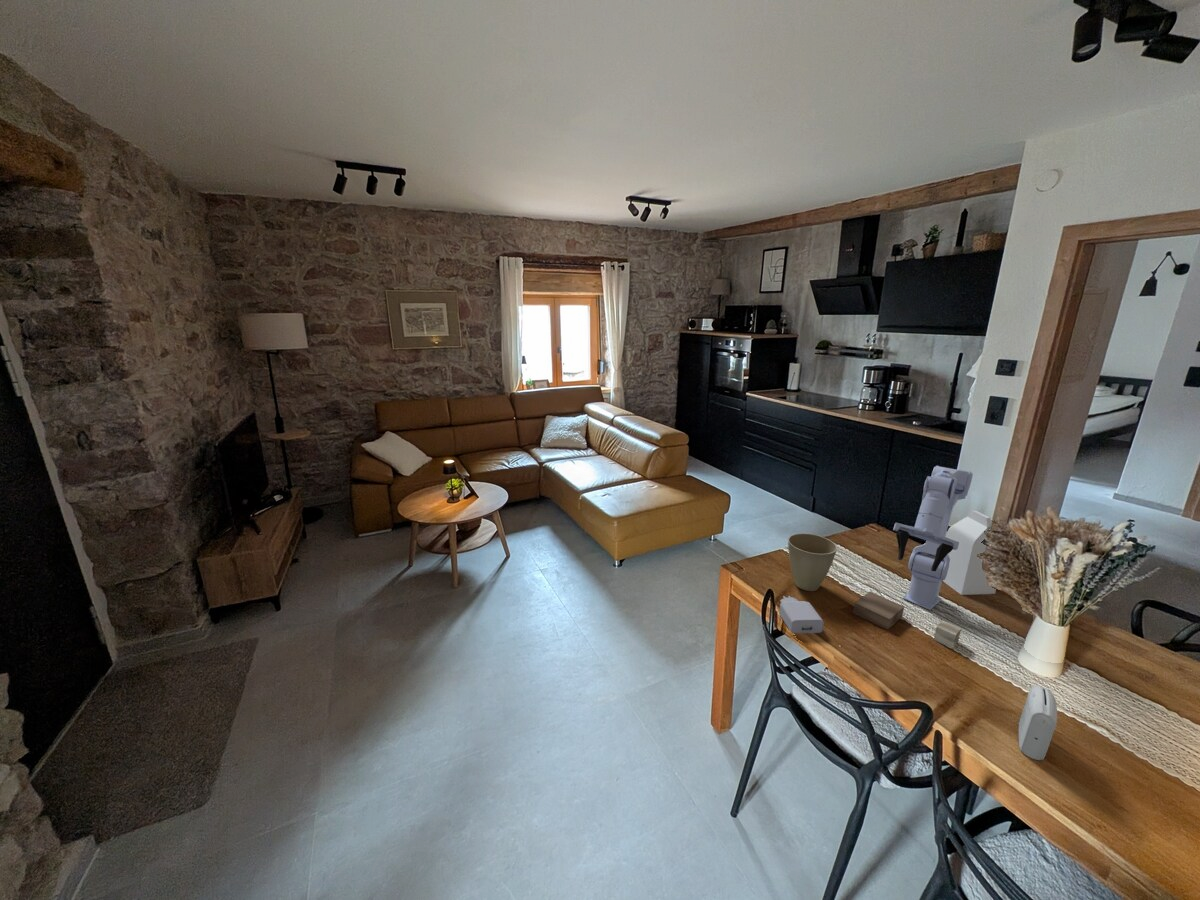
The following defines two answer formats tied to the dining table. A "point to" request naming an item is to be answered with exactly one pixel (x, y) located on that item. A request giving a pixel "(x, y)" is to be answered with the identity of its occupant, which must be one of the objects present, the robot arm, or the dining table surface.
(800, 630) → the charger
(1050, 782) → the dining table surface
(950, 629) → the maple cube
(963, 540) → the milk
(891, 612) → the walnut block
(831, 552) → the plant pot
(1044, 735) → the photo printer
